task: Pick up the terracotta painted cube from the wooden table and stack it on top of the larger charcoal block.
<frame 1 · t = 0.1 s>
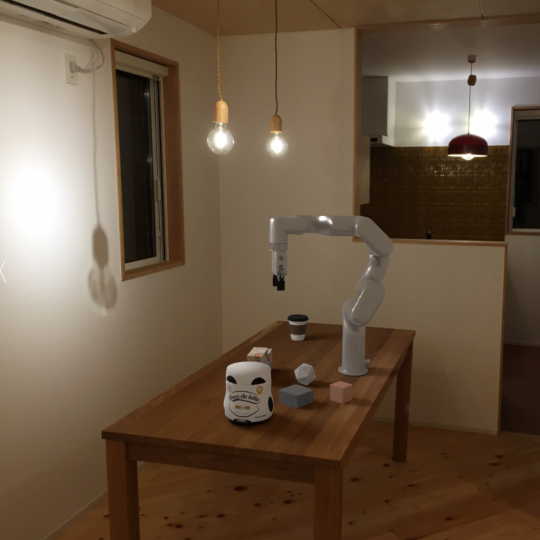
hand: (278, 288, 259), 37 cm above the table, tool pointing down, fingers open, 9 cm apart
milk container: (248, 418, 219), on the table
charcoal block: (296, 402, 235), on the table
coffee cup: (297, 339, 323), on the table
die: (305, 383, 256), on the table
stack of blocks: (260, 377, 264), on the table
terracotta cube: (341, 399, 237), on the table
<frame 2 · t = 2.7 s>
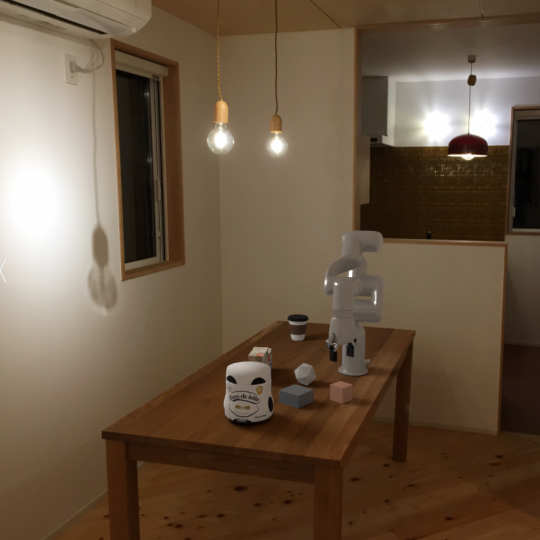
hand: (341, 358, 234), 16 cm above the table, tool pointing down, fingers open, 9 cm apart
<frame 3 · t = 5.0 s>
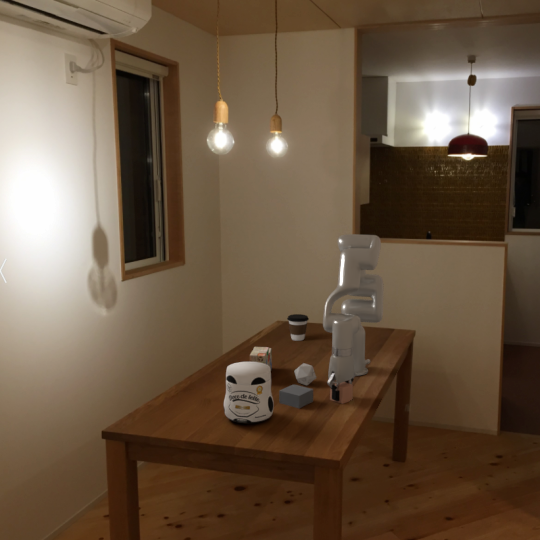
hand: (341, 397, 237), 1 cm above the table, tool pointing down, fingers closed on terracotta cube, 6 cm apart
terracotta cube: (341, 399, 237), on the table, touching gripper
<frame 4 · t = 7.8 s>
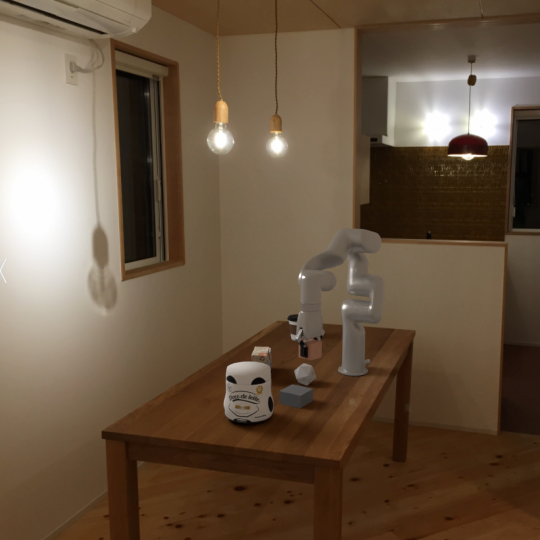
hand: (309, 354, 232), 18 cm above the table, tool pointing down, fingers closed on terracotta cube, 6 cm apart
terracotta cube: (310, 357, 233), point 17 cm above the table, touching gripper
when the fingers open (7 cm above the table, at t = 11.0 s): terracotta cube drops 2 cm, point 5 cm above the table.
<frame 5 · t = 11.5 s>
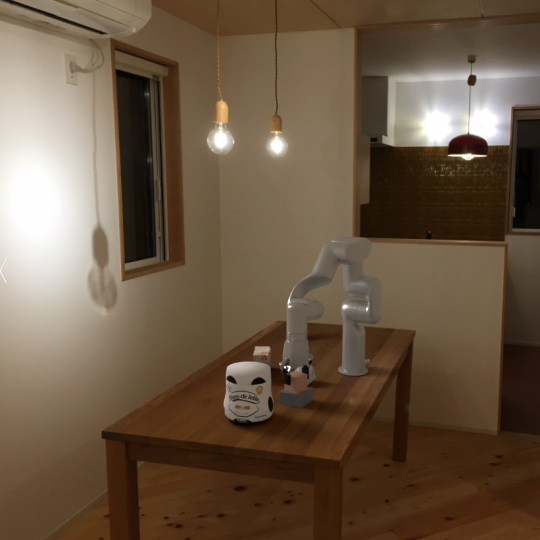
hand: (296, 381, 233), 8 cm above the table, tool pointing down, fingers open, 9 cm apart
terracotta cube: (295, 389, 234), point 5 cm above the table
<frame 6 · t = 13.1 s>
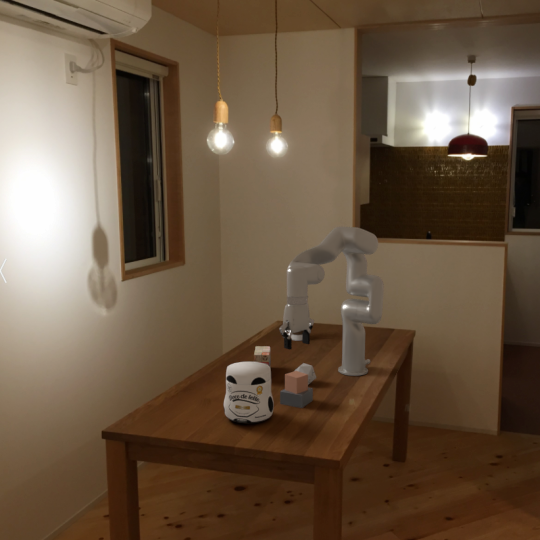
hand: (297, 346, 232), 21 cm above the table, tool pointing down, fingers open, 9 cm apart
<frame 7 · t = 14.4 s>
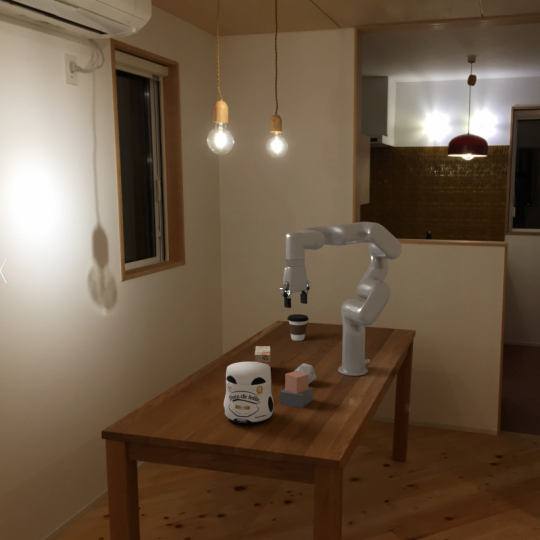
hand: (295, 305, 252), 32 cm above the table, tool pointing down, fingers open, 9 cm apart
charcoal block: (296, 402, 235), on the table, touching terracotta cube
terracotta cube: (296, 389, 234), point 5 cm above the table, touching charcoal block
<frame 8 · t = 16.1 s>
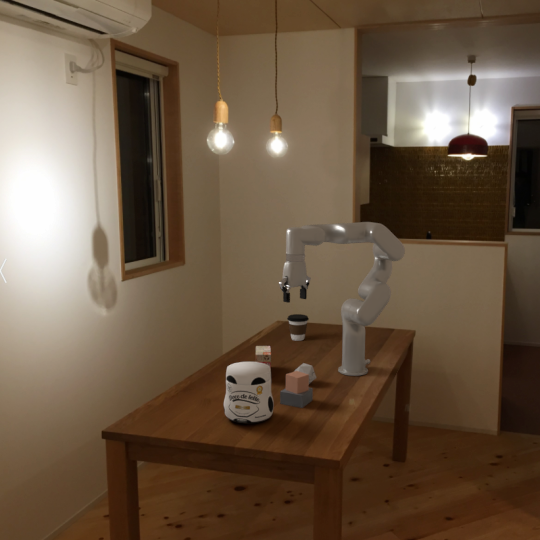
hand: (294, 300, 255), 33 cm above the table, tool pointing down, fingers open, 9 cm apart
at the end: terracotta cube 0.3 cm off-centre on the charcoal block, point 5.0 cm above the charcoal block's base; terracotta cube tilted 0°; the gripper is holding nothing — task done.
